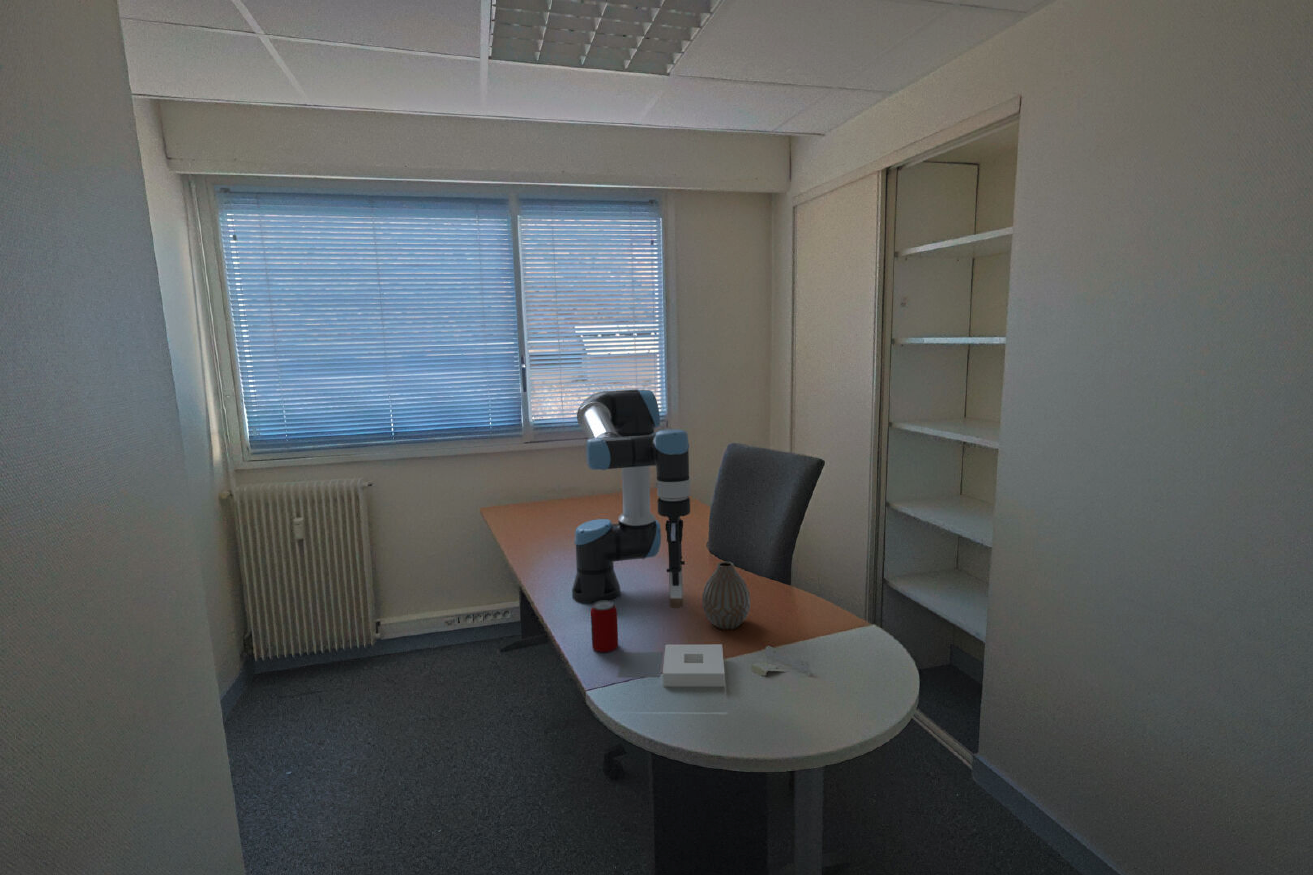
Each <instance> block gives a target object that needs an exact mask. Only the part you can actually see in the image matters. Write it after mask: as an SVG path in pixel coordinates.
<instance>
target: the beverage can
mask: <svg viewBox="0 0 1313 875" xmlns="http://www.w3.org/2000/svg"><path fill="white" fill-rule="evenodd" d="M617 610H618V609H617V607H616V606H615V604H614V602H613V601H612V600H611V601H607V600H603V601H598V602H595V603H594V604H592V607H591V609H590V627H591V629H590V630H591V646H592V649H593V650H594V651H596V652H599V653H610V652H612V651H614V650H616V649H618V647H619V631H618V628H619V627H618V611H617Z"/></svg>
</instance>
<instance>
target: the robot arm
mask: <svg viewBox="0 0 1313 875" xmlns="http://www.w3.org/2000/svg"><path fill="white" fill-rule="evenodd" d="M577 409H578V410H577V412H576V419H577V424H578V425H579V428H581V430H582V431H583V432H584V433H585V434H586V436H587V438H588V439H587V441H586V444H585V453H586V455H585V457H586V463H587V467H588V469H591V470H593V471H594V470H595V471H596V470H601V471H606V470H615V469H621V477H622V478H621V479H622V480H621V481H622V484H621V485H622V513H621V514H620V515H619V516H618V522H617V523H613V522H612V521H611V520H610V519H608V518H604V519H602V518H599V519H598V518H597V519H592V520H588V521H585V522H583V523H582V524H580V525H578V526H577V527H576V529H575V532H574V545H575V562H576V564H575V565H576V572H575V574H576V575H575V577H574V581H573V585H572V587H571V588H572V590H571V593H572V594H571V595H572V598H573V600H575V601H576V602H580V603H582V604H592V605H593V604H594V603H595V602H598V601H603V600H607V601H611V602H612V601H614V600H616V599H617V598H618V597H620V595H621V586H620V583H619V580H618V577H617V575H616V572H615V570H614V567H615V566H614V562H619V561H621V562H622V561H632V560H646V559H648V558H653V557H656V556H657V555H658V553H659V551H660V548H661V544H662V533H661V531H662V530H661V524H660V521H659V520H656V516H655V515H654V514H653V513H652V512H651V482H650V481H651V478H650V477H651V475H650V474H651V471H650V468H651V467H656V471H655V472H656V482H655V483H654V485H653V487H654V488H657V489H656V490H657V494H656V495H657V497H658V499H657V501H656V502H657V504H656V505H657V514H658V515H660V516H661V517H666V518H667V520H665V521H666V522H665V531H666V542H667V546H668V549H667V550H668V551H667V552H668V568H666V573H669V572H670V587H669V599H670V598H682V595H683V592H684V590H683V589H684V588H683V585H684V584H683V572H682V573H681V566H680V563H681V564H682V566H684V565H685V564H686V562H685V560H683V555H682V553H683V552H682V541H683V535H684V534H683V530H684V520H683V519H682V518H681V517H687V516H688V515H689V514H690V513H691V499H690V497H689V496H690V495H691V481H690V480H691V479H690V458H689V457H690V456H689V455H690V453H689V449H690V443H689V436H688V432H687V431H686V430H684V429H672V428H671V429H661V430H659V431H657V432H655V429H657V428H659V427H660V424H661V423H660V422H661V413H660V409H659V404H658V401H657V398H656V395H655V393H654V392H653V391H652V390H650V389H639V388H637V389H636V388H635V389H625V390H624V389H623V390H611V391H610V390H606V391H604V390H603V391H599V392H597V393H594V394H592V395H590V396H588V397H587V398H586V399H585V400H584V401H583V402H582V403H581V404H580V405H579V407H578V408H577Z"/></svg>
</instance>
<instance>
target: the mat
mask: <svg viewBox="0 0 1313 875" xmlns="http://www.w3.org/2000/svg"><path fill="white" fill-rule="evenodd" d="M662 658H663V652H660V651H659V652H650V651H649V652H644V651H643V652H639V651H637V652H636V651H635V652H633V651H631V652H627V651H626V652H622V656H621V662H620V664H619V669H618V672H617V673H618V674H617V678H661V669H662Z"/></svg>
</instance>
